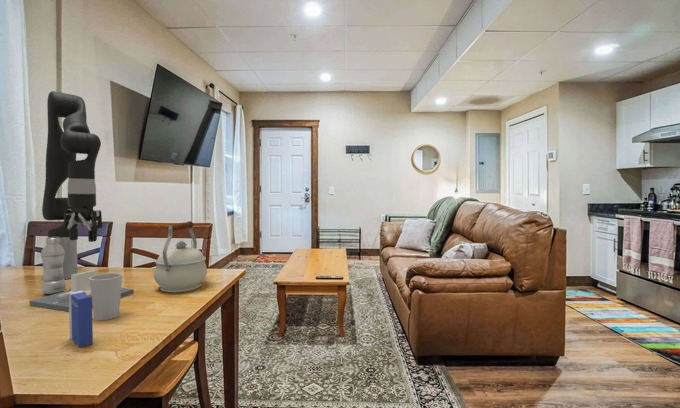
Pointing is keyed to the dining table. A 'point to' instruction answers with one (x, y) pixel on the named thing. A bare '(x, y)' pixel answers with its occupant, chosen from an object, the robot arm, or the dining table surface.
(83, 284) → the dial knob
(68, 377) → the dining table surface
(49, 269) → the plastic bottle
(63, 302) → the dial plate
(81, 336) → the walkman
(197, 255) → the kettle
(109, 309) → the cup
